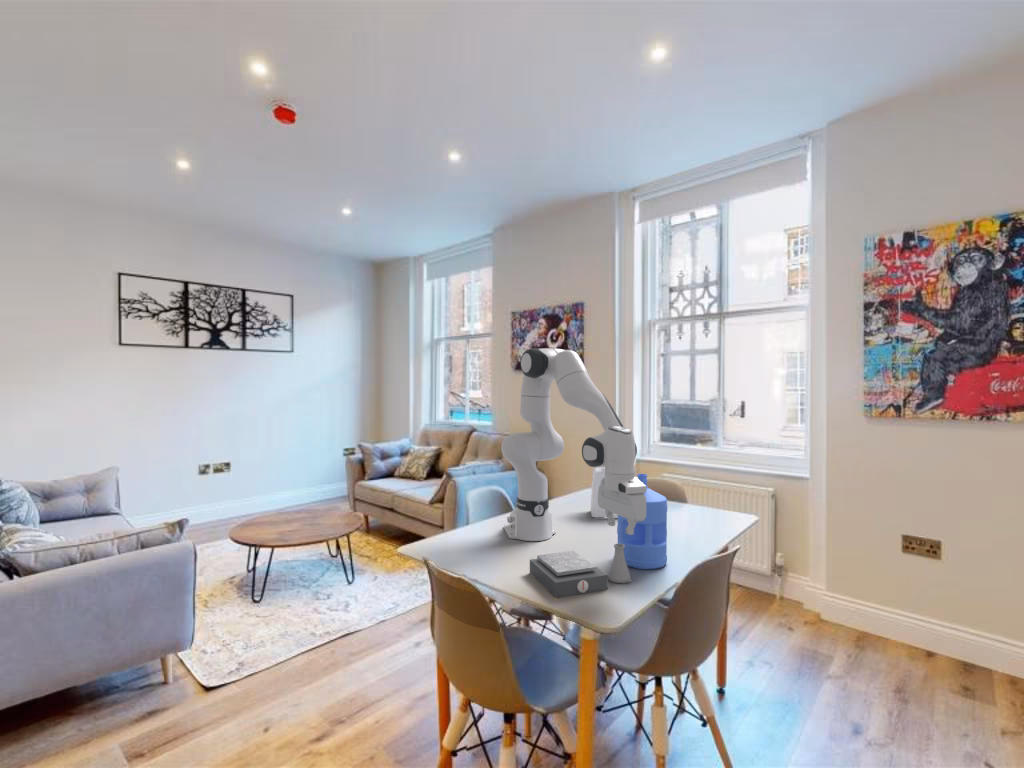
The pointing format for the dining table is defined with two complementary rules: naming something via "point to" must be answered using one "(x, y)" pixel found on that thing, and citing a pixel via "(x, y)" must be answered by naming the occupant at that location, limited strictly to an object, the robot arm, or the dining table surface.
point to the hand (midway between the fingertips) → (620, 529)
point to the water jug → (646, 533)
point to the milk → (596, 482)
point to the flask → (619, 566)
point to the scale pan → (566, 563)
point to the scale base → (568, 580)
